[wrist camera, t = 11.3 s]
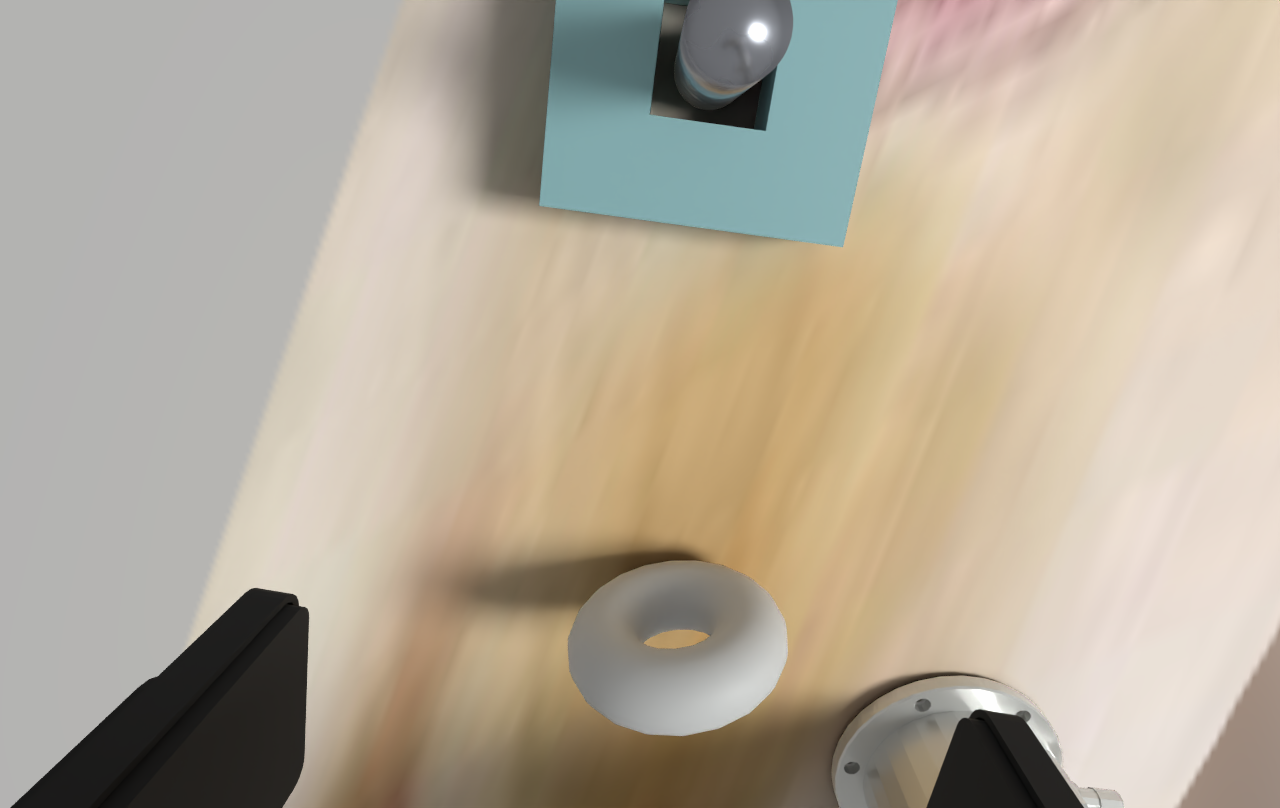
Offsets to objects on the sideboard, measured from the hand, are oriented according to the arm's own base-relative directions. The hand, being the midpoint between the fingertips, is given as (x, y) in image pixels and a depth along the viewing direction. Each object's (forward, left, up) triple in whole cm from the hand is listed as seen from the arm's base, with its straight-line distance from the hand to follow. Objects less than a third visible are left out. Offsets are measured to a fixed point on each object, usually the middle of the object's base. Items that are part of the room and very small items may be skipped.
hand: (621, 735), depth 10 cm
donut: (-3, +12, -24) cm, 27 cm away
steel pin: (-1, -12, -24) cm, 27 cm away
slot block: (-1, -12, -24) cm, 27 cm away
